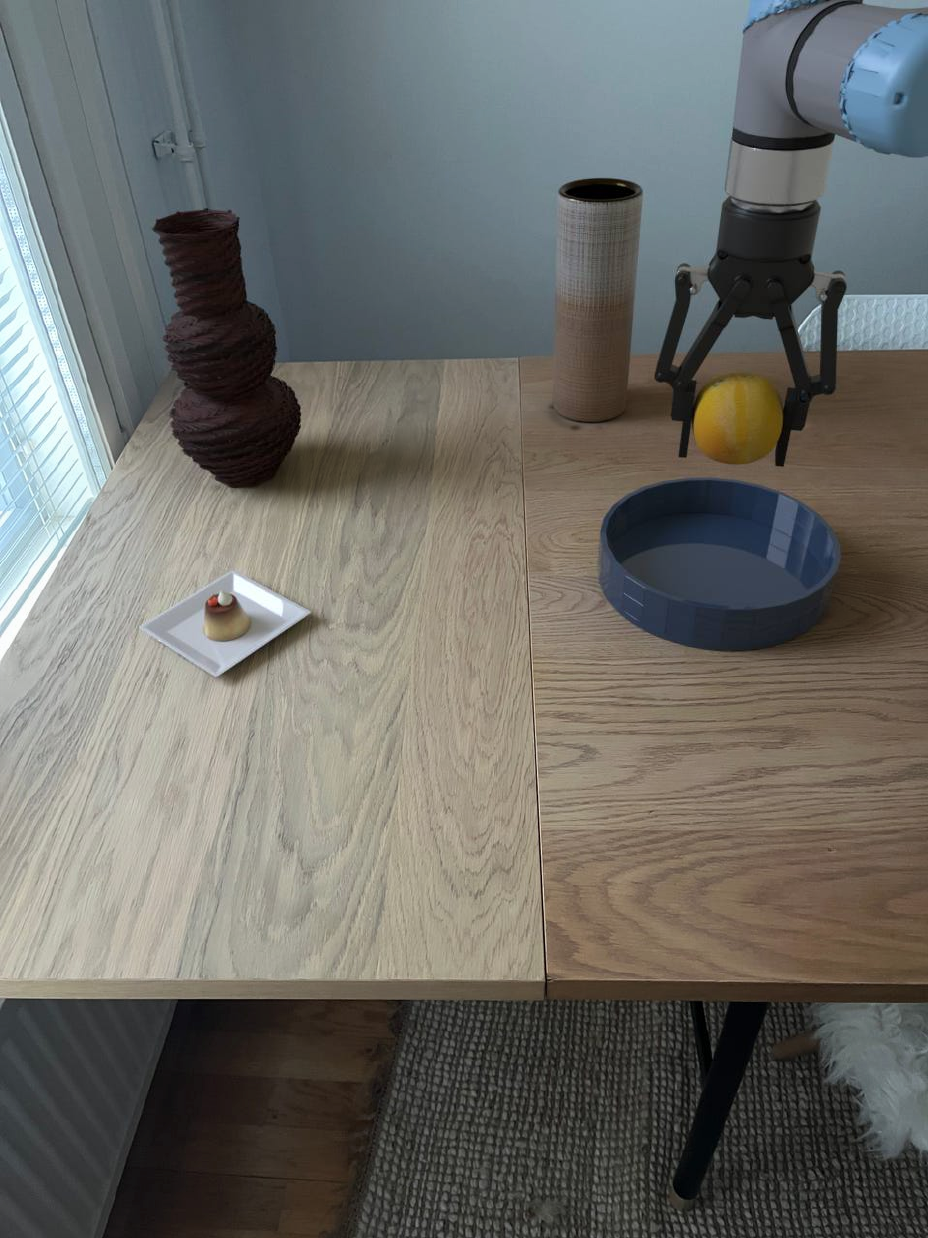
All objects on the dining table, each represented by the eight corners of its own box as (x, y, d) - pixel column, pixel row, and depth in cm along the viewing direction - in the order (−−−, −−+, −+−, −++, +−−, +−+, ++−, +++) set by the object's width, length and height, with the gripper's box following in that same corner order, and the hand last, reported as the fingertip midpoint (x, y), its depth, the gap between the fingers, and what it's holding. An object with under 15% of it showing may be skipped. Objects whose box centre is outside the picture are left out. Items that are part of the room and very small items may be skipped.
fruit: (672, 440, 92) (681, 361, 87) (751, 429, 93) (764, 352, 88) (707, 486, 85) (720, 404, 80) (792, 474, 86) (809, 393, 81)
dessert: (140, 635, 94) (128, 597, 90) (235, 577, 101) (226, 540, 98) (218, 686, 87) (207, 646, 84) (313, 620, 94) (306, 582, 91)
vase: (176, 509, 112) (106, 248, 93) (193, 446, 124) (134, 204, 105) (307, 498, 112) (264, 238, 94) (311, 437, 124) (274, 195, 105)
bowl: (825, 528, 104) (834, 488, 101) (835, 666, 86) (847, 624, 83) (613, 506, 109) (616, 468, 106) (582, 633, 91) (584, 592, 88)
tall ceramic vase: (594, 383, 134) (605, 172, 116) (641, 409, 127) (661, 189, 110) (537, 403, 130) (541, 187, 112) (583, 430, 123) (594, 205, 106)
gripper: (909, 189, 75) (846, 445, 89) (643, 181, 79) (623, 426, 94) (920, 217, 69) (850, 486, 84) (633, 207, 74) (614, 464, 88)
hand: (730, 454), depth 89 cm, fingers closed on fruit, 8 cm apart
